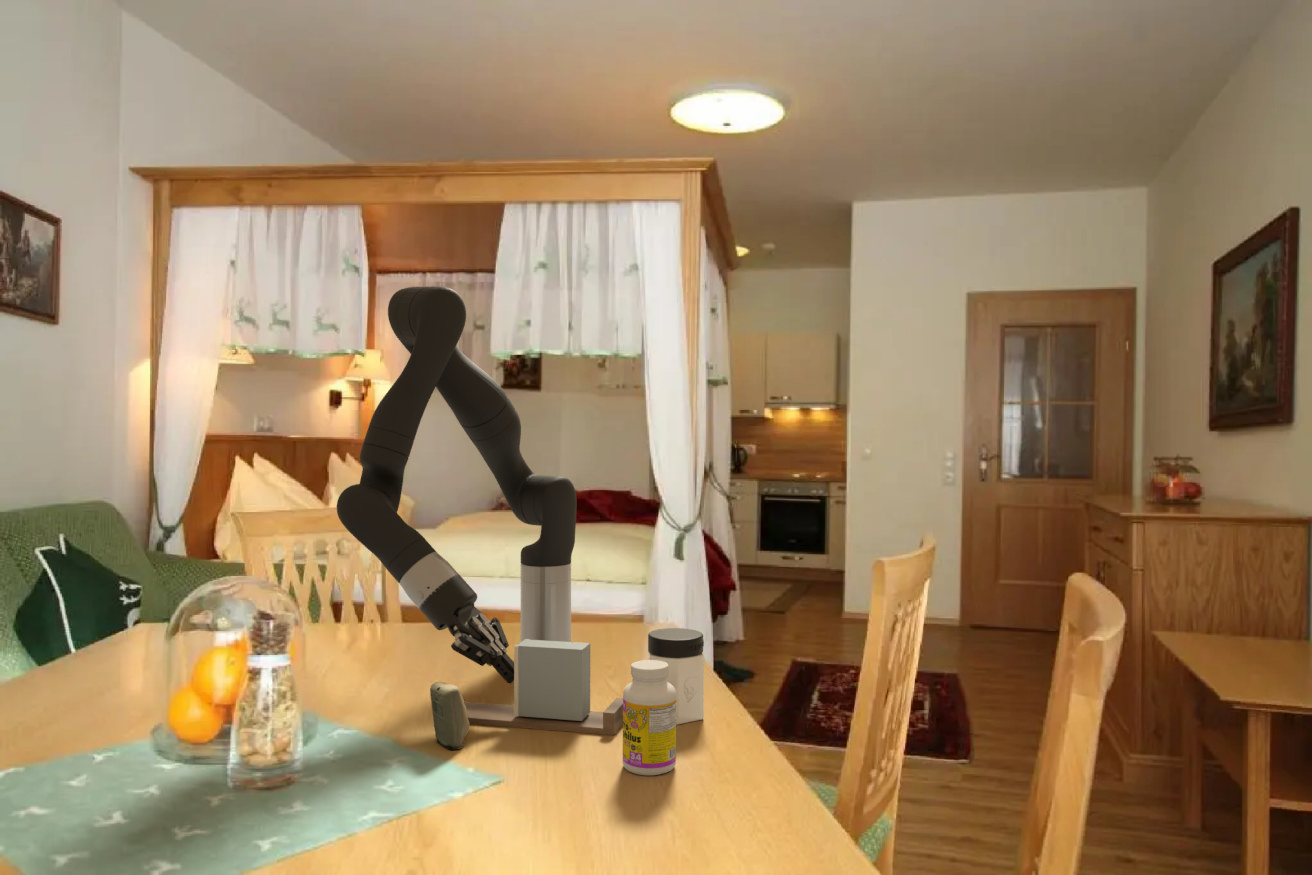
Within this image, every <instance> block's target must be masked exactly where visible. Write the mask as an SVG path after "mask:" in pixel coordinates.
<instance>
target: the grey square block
mask: <svg viewBox="0 0 1312 875" xmlns="http://www.w3.org/2000/svg"><path fill="white" fill-rule="evenodd" d="M513 649H514V650H513V662H514V682H513V692H514V693H513V705H514V716H524V717H537V718H550V719H563V720H576V721H582V720H583V719H584V718H585V717H586V716H587V715H588V714H589V713H590V711H591V642H576V641H575V642H574V641H571V642H561V641H544V640H529V639H525V640H523V641H521V642H520V641H519V642H517V644H515V645H513Z"/></svg>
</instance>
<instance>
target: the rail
mask: <svg viewBox="0 0 1312 875" xmlns="http://www.w3.org/2000/svg"><path fill="white" fill-rule="evenodd" d="M464 704H465V706H466V710H467V717H468V721H469V725H470V724H473V725H484V726H494V727H496V726H497V727H508V728H520V729H522V728H523V729H535V730H545V731H547V730H548V731H557V732H559V731H561V732H569V733H570V732H572V733H583V734H594V735H595V734H598V735H607V736H610V735H612V736H615V735H616V734H617V733H618V731H619V730H620V728H622V727H623V697H622V698H621V697H620V698H619V697H616V698H615V699H614V700H613V701H612V702H611V703H610V704H609V705H608V706H607V707H606V709H605V710H604V711H594V710H590V713H589V714H588V715H587V716H586V717H585V718H584V719H583V720H582V721H576V720H563V719H550V718H537V717H524V716H514V704H513V705H512V704H500V703H499V704H498V703H487V702H474V701H472V702H471V701H464Z"/></svg>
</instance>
